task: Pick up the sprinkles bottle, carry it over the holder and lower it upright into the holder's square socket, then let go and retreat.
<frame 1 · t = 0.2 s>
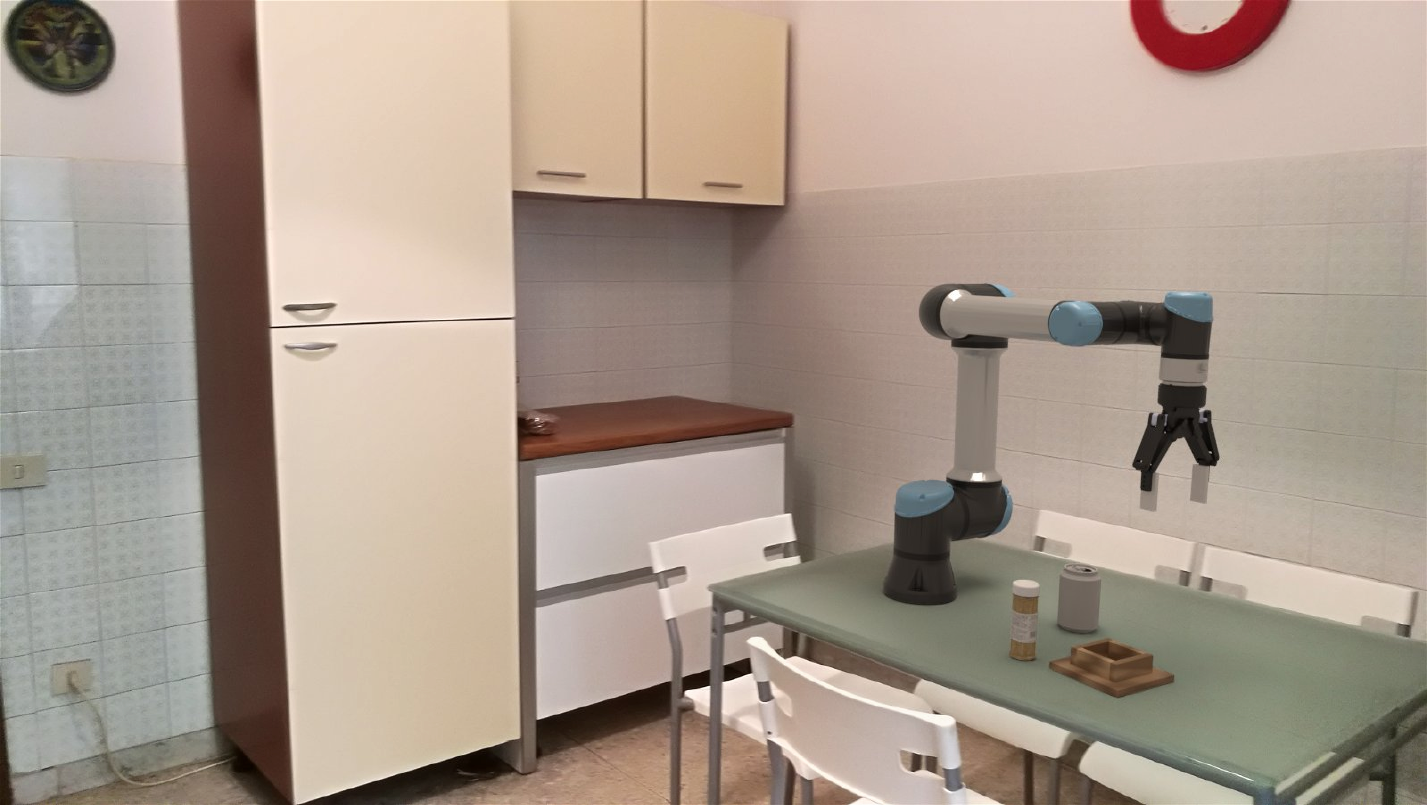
hand: (1173, 506, 178), 28 cm above the table, fingers open, 13 cm apart
sprinkles bottle: (1022, 657, 182), on the table
holder: (1110, 674, 174), on the table
can: (1077, 628, 197), on the table
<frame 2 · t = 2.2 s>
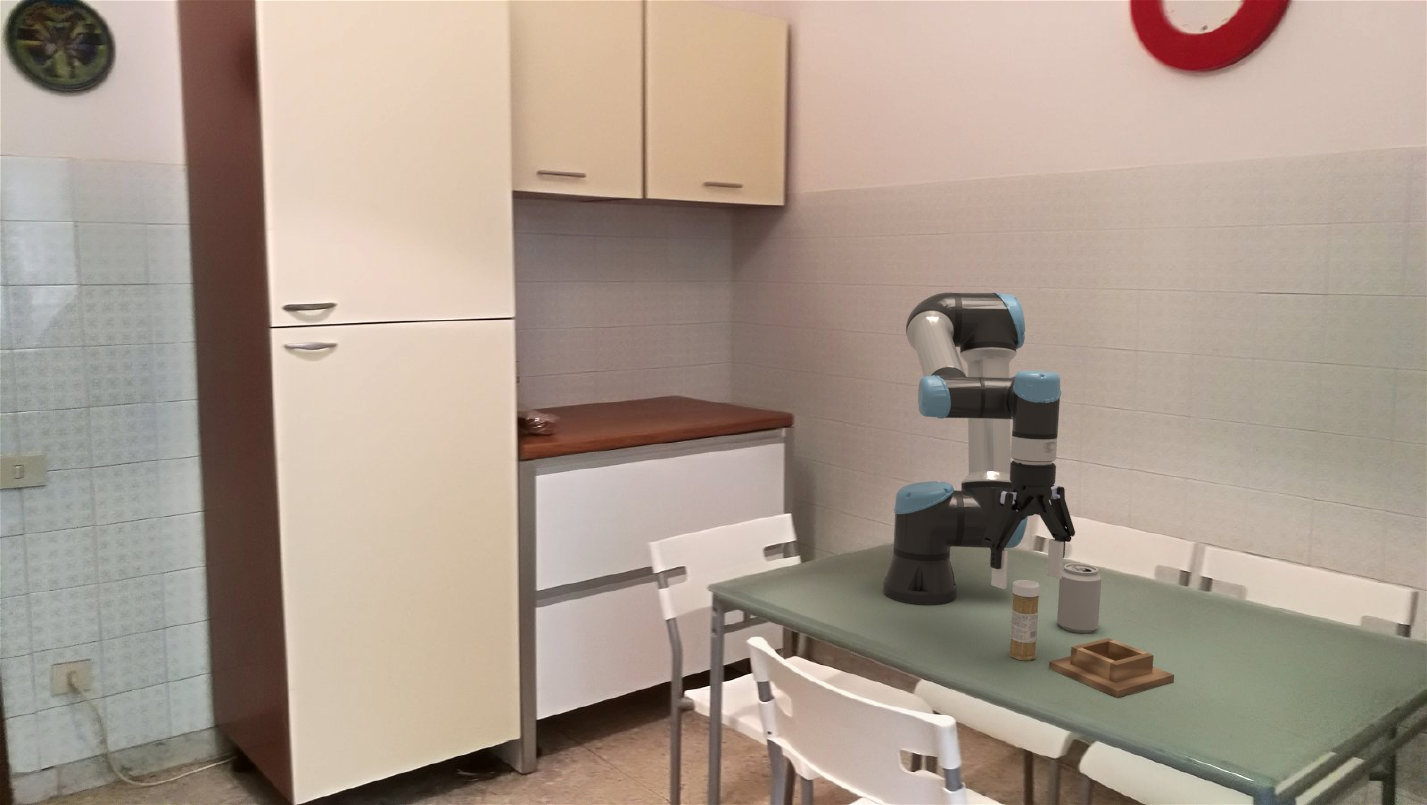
hand: (1027, 581, 180), 14 cm above the table, fingers open, 13 cm apart
nothing on the table moved.
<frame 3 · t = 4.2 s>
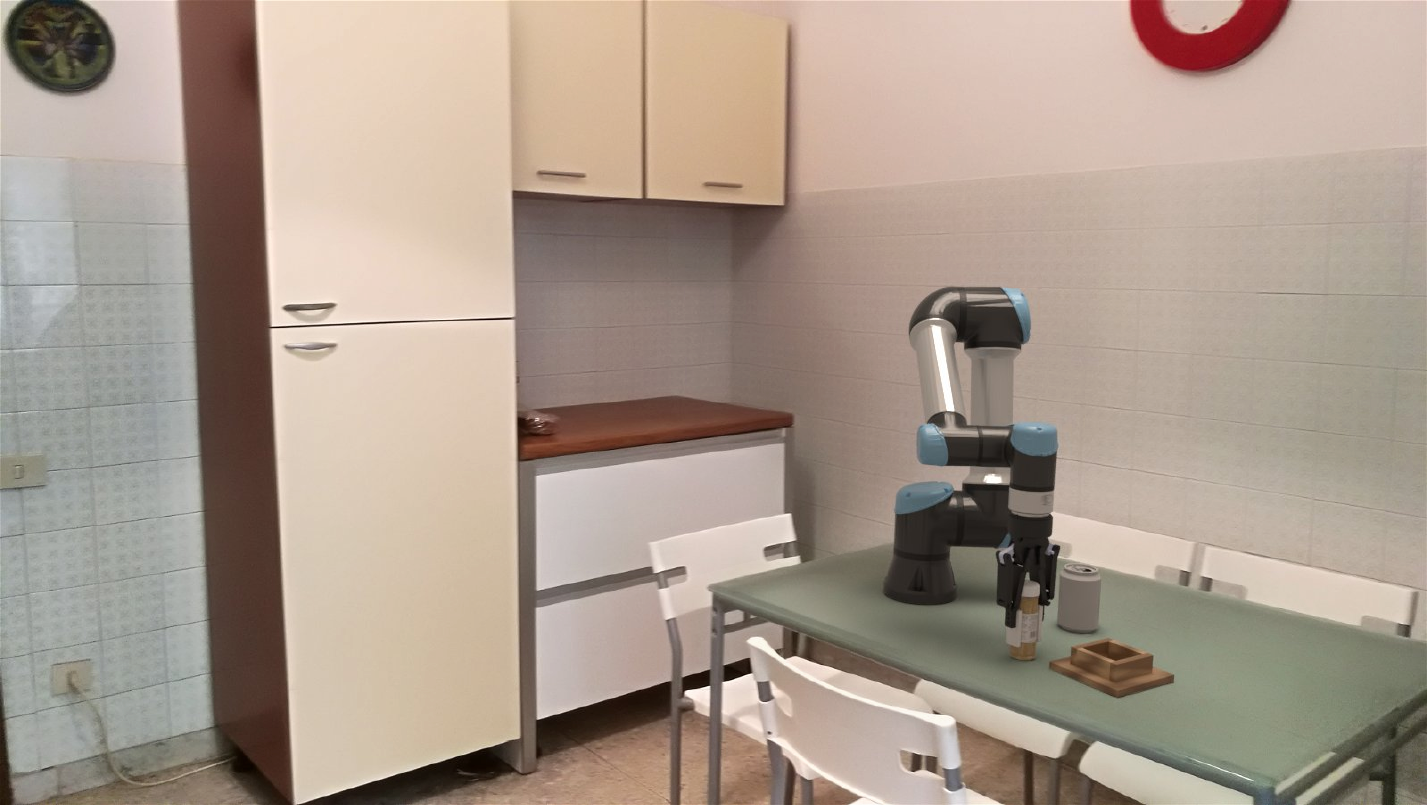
hand: (1023, 641, 182), 3 cm above the table, fingers closed on sprinkles bottle, 4 cm apart
sprinkles bottle: (1022, 657, 182), on the table, touching gripper
everything else where it was.
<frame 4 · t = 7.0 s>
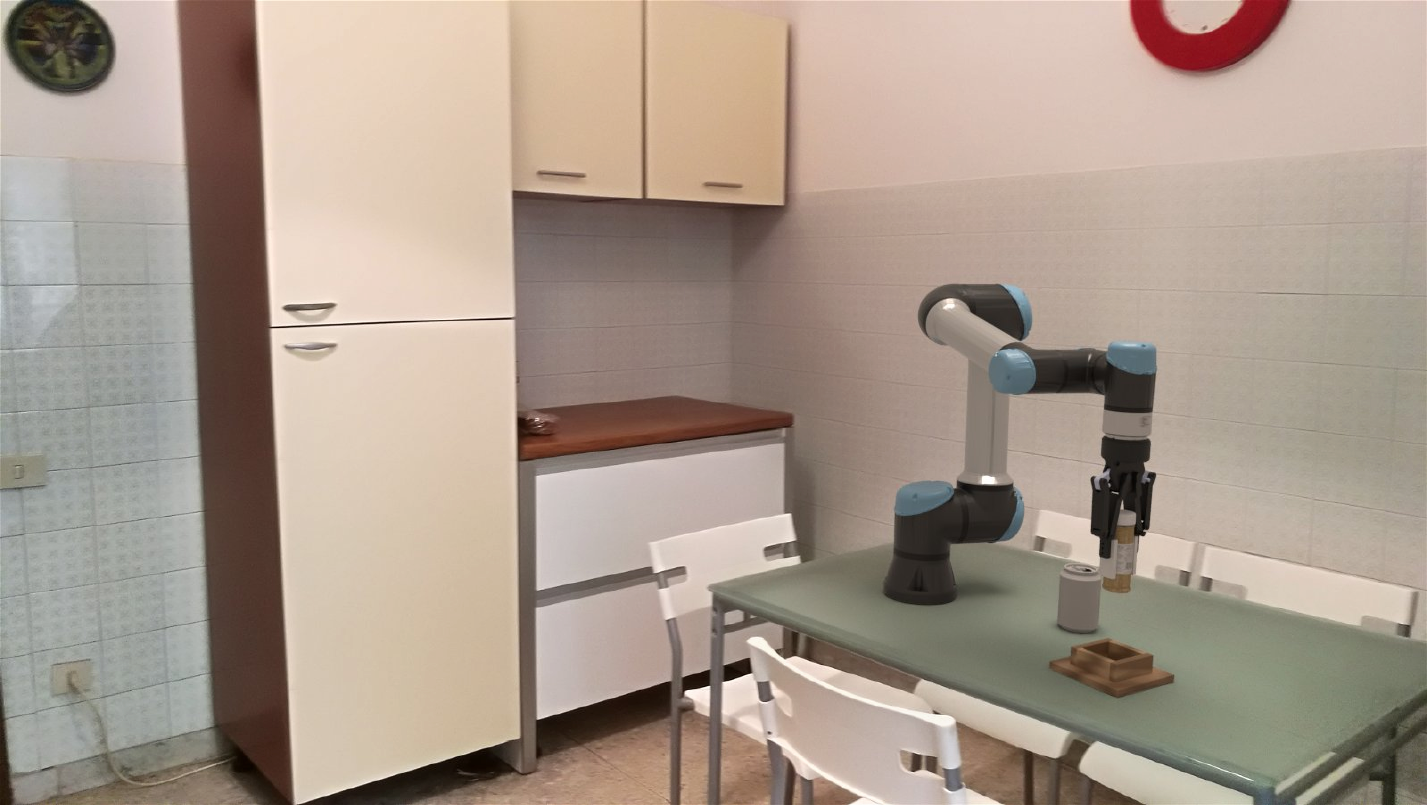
hand: (1117, 574, 172), 17 cm above the table, fingers closed on sprinkles bottle, 4 cm apart
sprinkles bottle: (1116, 591, 172), point 15 cm above the table, touching gripper
everything else where it was.
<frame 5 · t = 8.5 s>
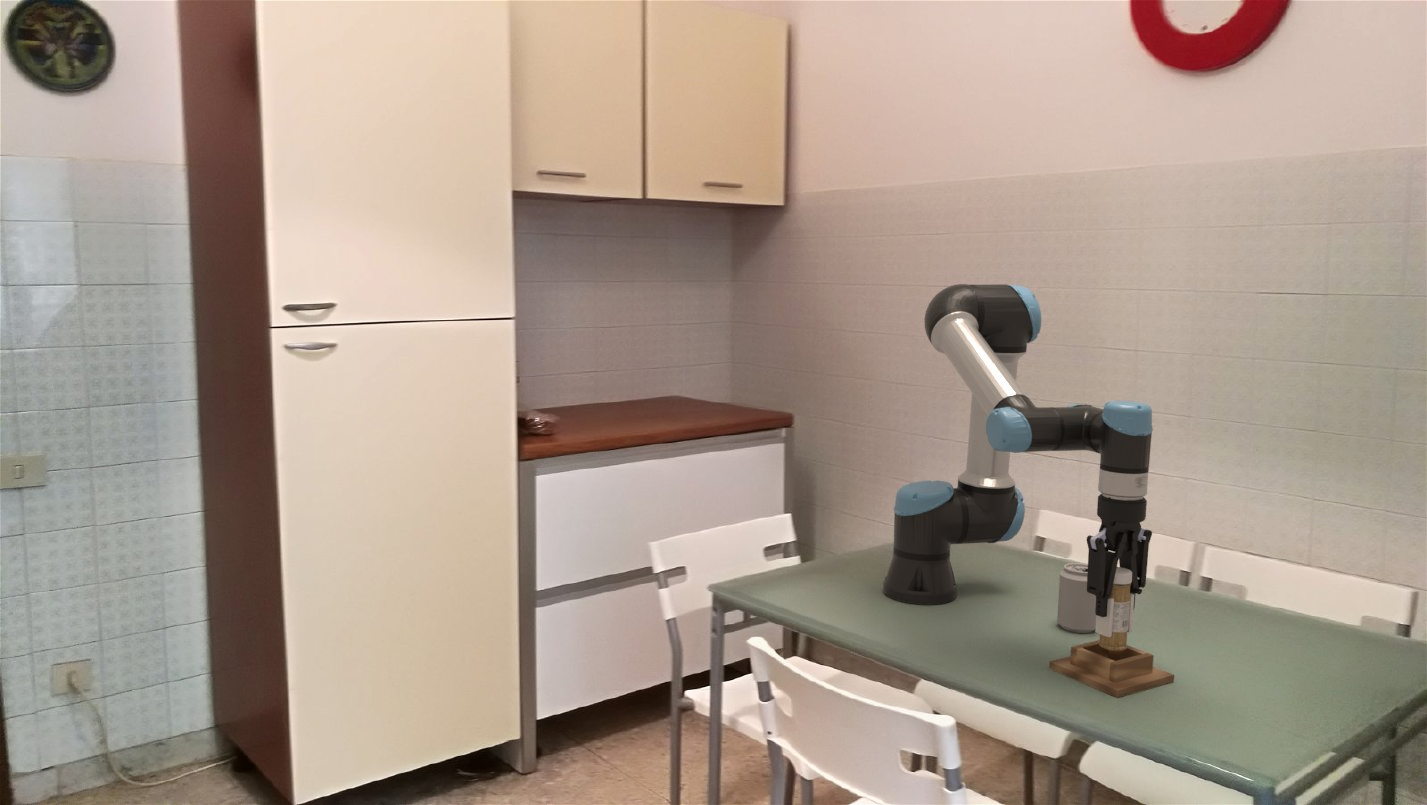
hand: (1113, 631, 173), 8 cm above the table, fingers closed on sprinkles bottle, 4 cm apart
sprinkles bottle: (1112, 648, 173), point 5 cm above the table, touching gripper
everything else where it was.
when the fingers open (5 cm above the table, at t = 9.7 s): sprinkles bottle drops 1 cm, resting on holder.
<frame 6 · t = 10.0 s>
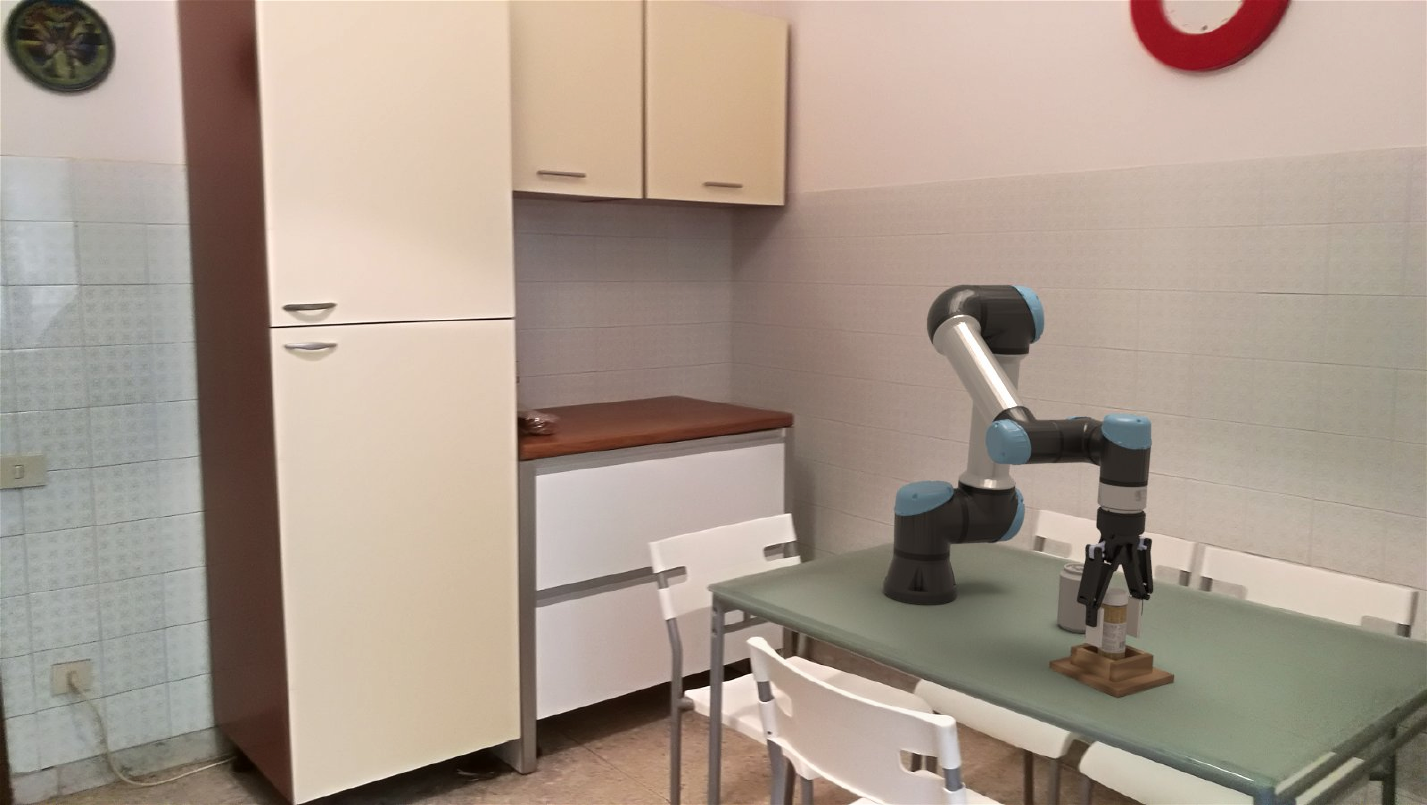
hand: (1112, 639, 173), 6 cm above the table, fingers open, 9 cm apart
sprinkles bottle: (1110, 668, 174), point 1 cm above the table, touching holder
everything else where it was.
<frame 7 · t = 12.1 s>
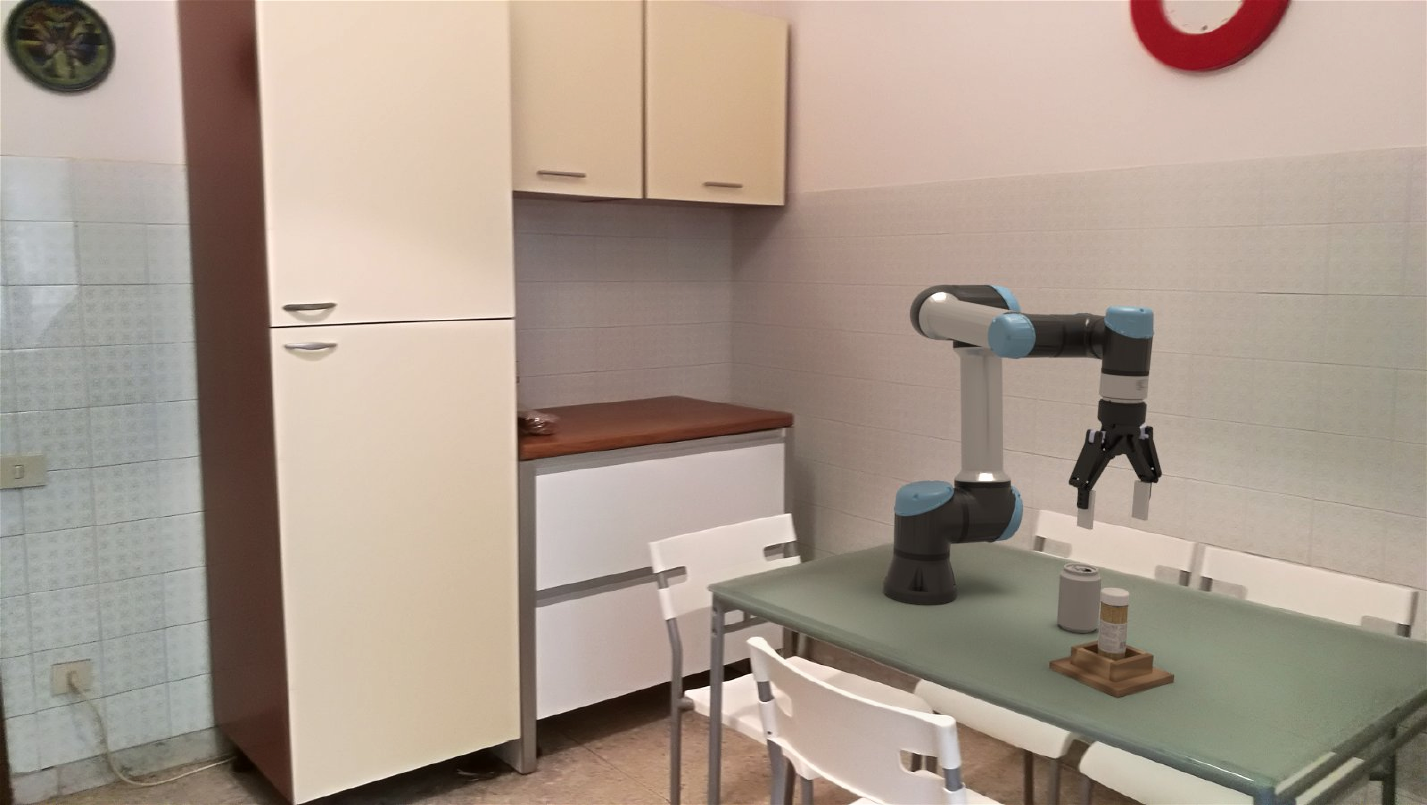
hand: (1112, 523, 175), 25 cm above the table, fingers open, 13 cm apart
nothing on the table moved.
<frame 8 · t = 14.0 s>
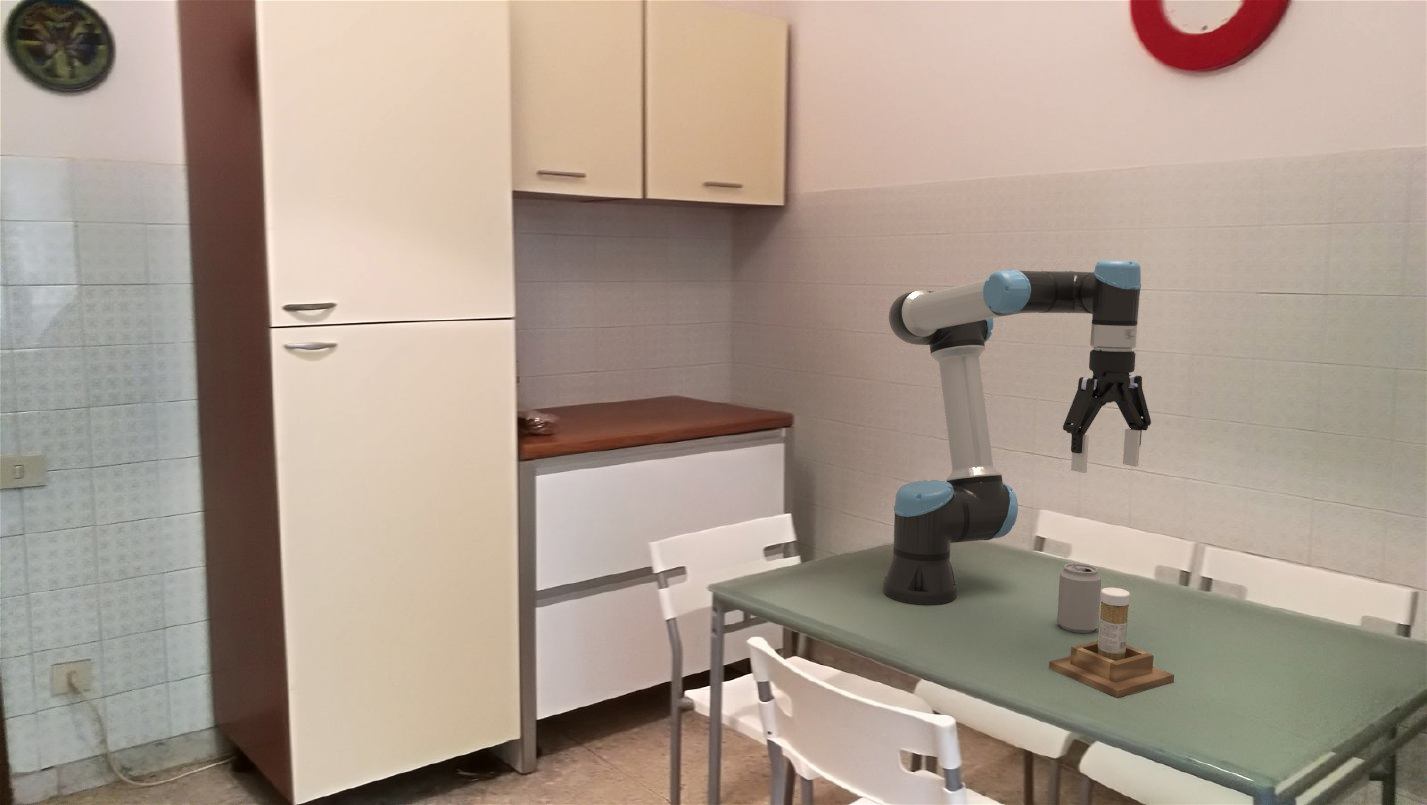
hand: (1105, 468, 184), 33 cm above the table, fingers open, 13 cm apart
nothing on the table moved.
at the end: sprinkles bottle 0.1 cm off-centre on the holder, point 1.0 cm above the holder's base; sprinkles bottle tilted 0°; the gripper is holding nothing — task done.
